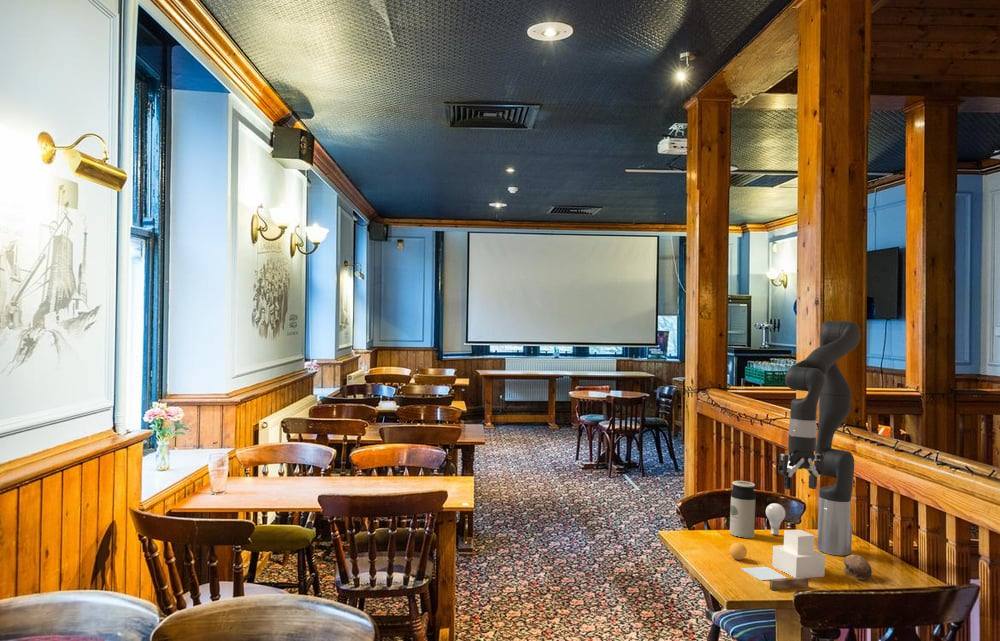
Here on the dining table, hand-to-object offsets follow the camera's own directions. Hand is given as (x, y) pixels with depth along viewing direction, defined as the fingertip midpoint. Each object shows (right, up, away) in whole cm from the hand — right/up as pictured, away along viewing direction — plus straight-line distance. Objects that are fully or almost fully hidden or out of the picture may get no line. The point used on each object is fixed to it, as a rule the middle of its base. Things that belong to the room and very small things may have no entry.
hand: (800, 488), depth 196 cm
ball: (-16, -21, +8) cm, 27 cm away
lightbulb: (+7, -25, +34) cm, 43 cm away
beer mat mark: (-12, -24, -4) cm, 27 cm away
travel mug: (-5, -25, +33) cm, 41 cm away
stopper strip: (-9, -24, -14) cm, 29 cm away
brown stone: (+15, -25, -3) cm, 30 cm away
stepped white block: (-1, -24, 0) cm, 24 cm away
